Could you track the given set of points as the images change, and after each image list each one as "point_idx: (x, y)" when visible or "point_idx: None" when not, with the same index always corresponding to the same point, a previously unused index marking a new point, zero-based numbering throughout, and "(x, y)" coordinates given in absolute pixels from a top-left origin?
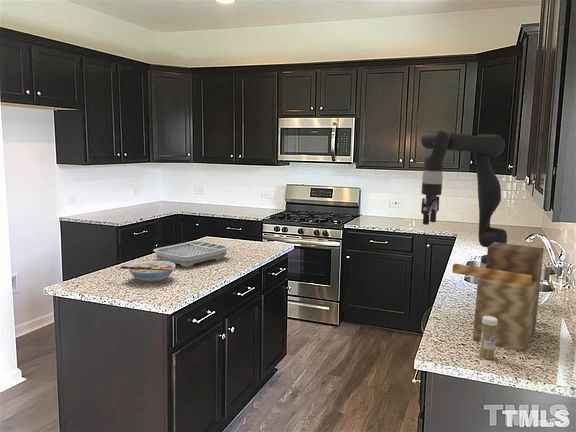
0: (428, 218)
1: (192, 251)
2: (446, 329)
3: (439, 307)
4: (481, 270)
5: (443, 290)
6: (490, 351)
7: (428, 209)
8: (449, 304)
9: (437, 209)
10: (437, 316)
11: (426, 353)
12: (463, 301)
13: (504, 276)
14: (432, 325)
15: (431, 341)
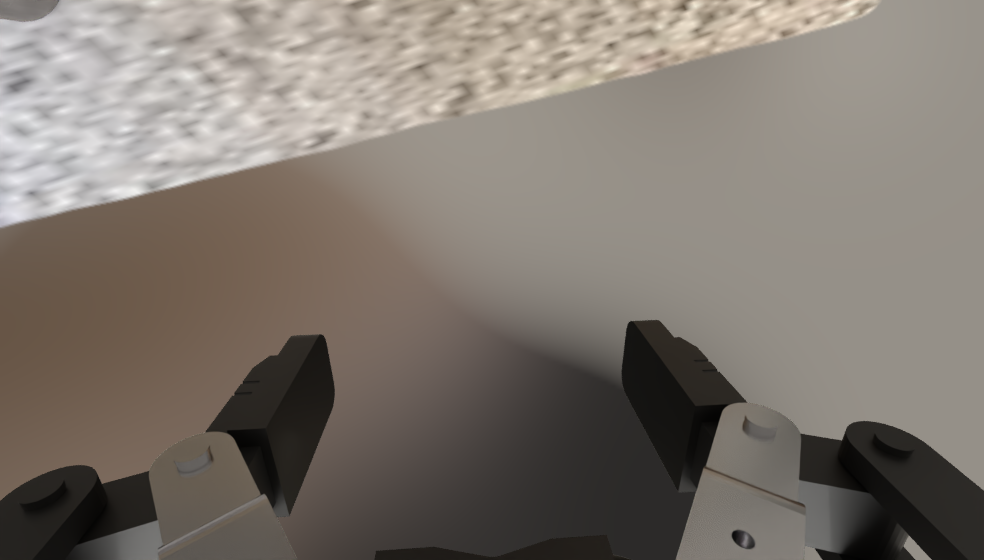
0: (701, 371)
1: None
2: (561, 21)
3: (323, 136)
4: None
5: (71, 204)
6: None
7: (927, 508)
8: (248, 113)
9: (88, 503)
10: (438, 104)
11: (824, 8)
12: (147, 71)
13: None
14: (550, 85)
15: (711, 31)
